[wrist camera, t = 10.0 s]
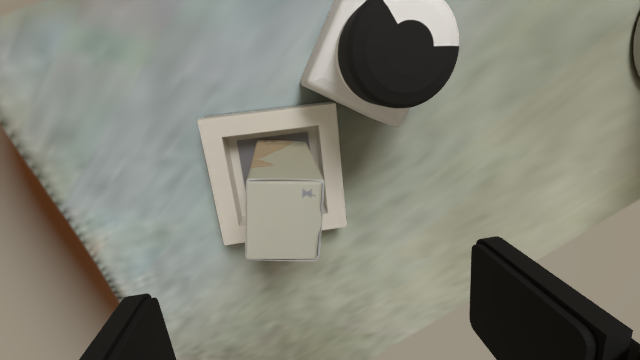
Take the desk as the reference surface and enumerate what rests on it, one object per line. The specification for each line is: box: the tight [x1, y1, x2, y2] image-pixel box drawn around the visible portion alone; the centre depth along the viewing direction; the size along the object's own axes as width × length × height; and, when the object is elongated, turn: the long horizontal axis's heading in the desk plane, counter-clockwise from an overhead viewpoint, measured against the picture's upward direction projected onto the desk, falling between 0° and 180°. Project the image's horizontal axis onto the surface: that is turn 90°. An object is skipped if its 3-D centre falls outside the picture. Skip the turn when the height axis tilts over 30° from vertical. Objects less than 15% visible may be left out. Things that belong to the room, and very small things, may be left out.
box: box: [245, 140, 325, 261], centre depth 23 cm, size 5×4×11 cm
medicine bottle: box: [300, 0, 459, 127], centre depth 22 cm, size 7×7×12 cm
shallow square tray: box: [198, 102, 347, 245], centre depth 28 cm, size 10×10×3 cm
